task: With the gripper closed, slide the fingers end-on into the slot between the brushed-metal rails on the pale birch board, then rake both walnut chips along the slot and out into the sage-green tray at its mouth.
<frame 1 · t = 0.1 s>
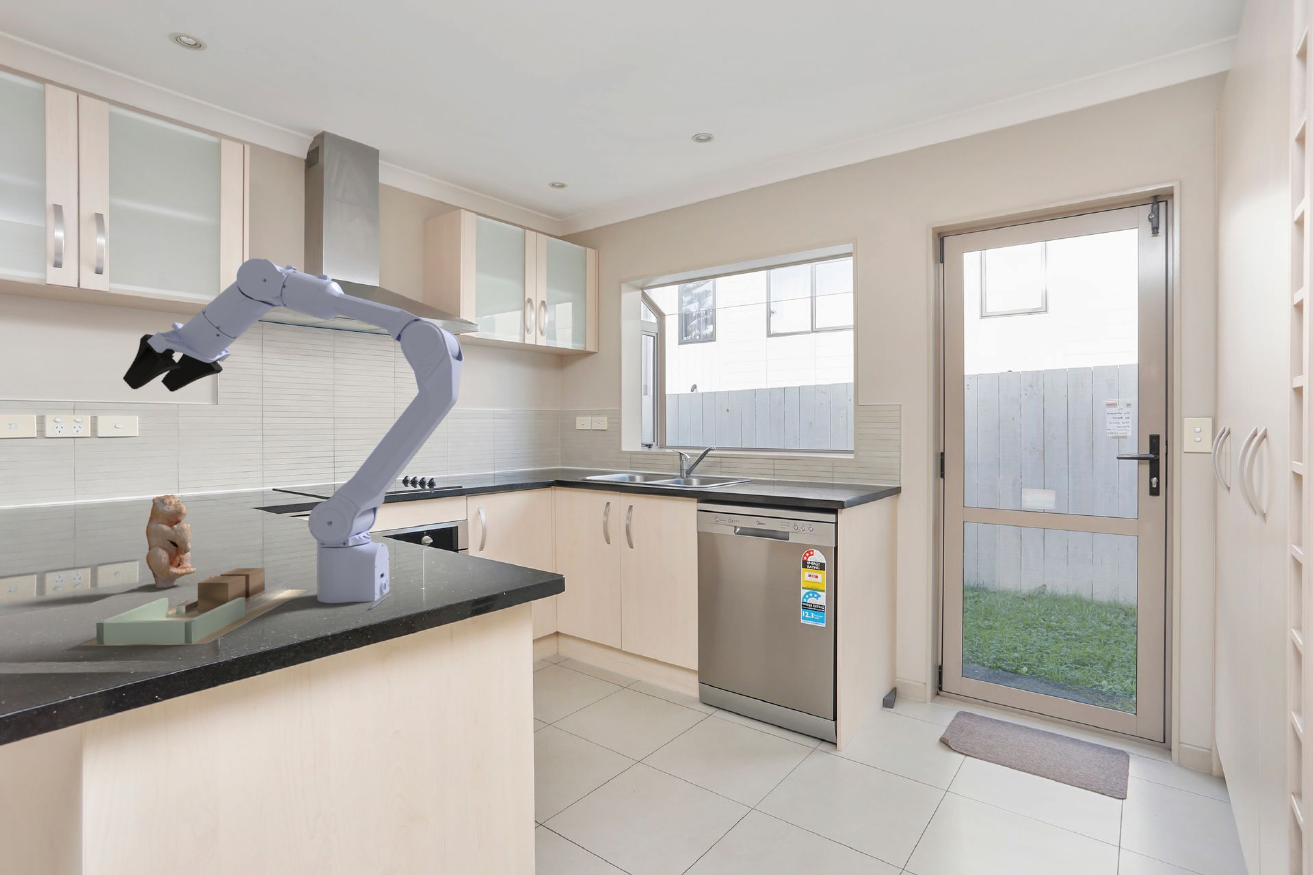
hand: (148, 385, 96), 32 cm above the table, tool tilted 50°, fingers open, 7 cm apart
slot rails: (237, 597, 94), on the slot board, point 1 cm above the table
figurine: (171, 591, 104), on the table
slot board: (211, 620, 89), on the table
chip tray: (176, 619, 82), on the slot board, point 2 cm above the table
chip b: (222, 608, 91), point 1 cm above the table, touching slot board
chip a: (243, 598, 96), point 1 cm above the table, touching slot board
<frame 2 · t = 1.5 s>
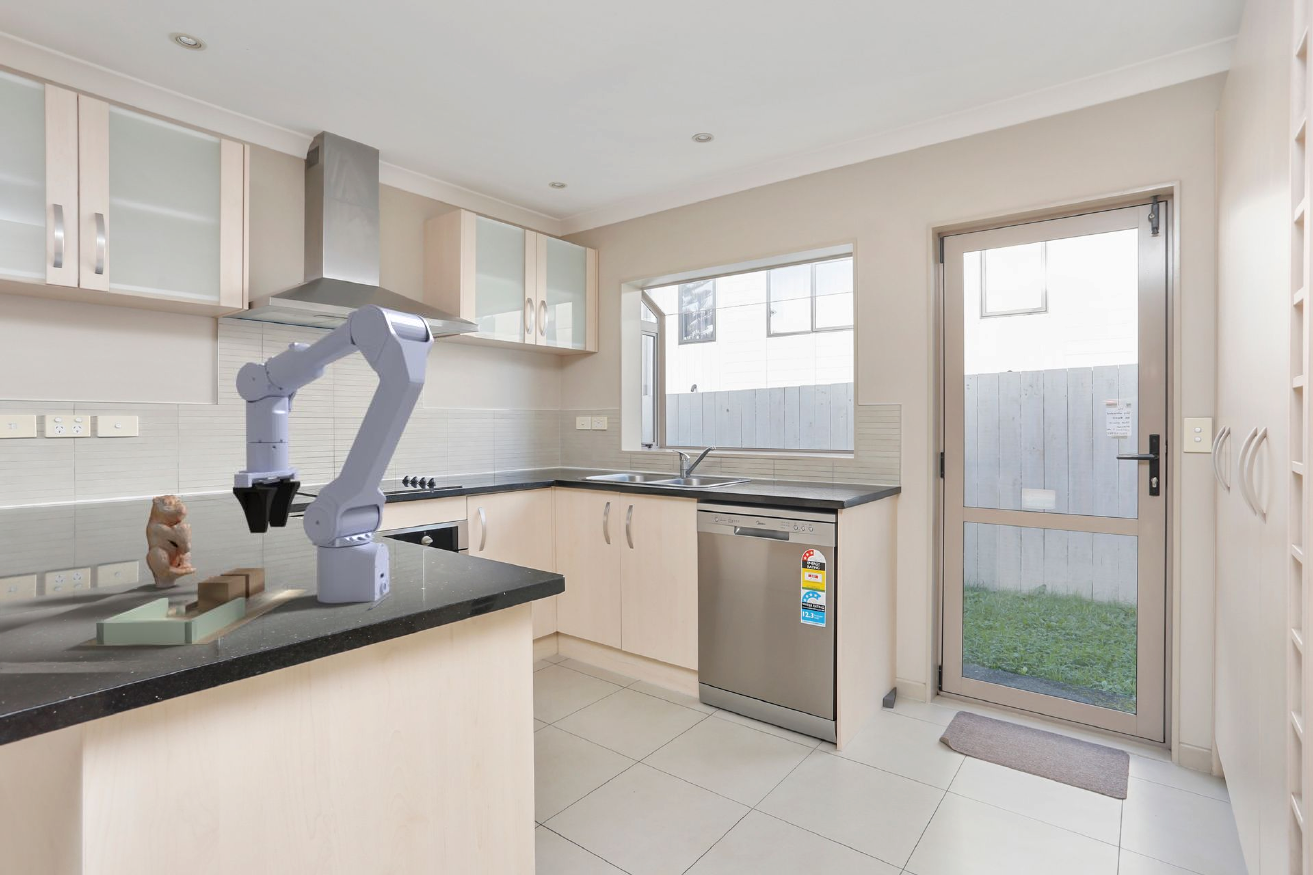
hand: (268, 529, 103), 10 cm above the table, tool pointing down, fingers open, 5 cm apart
nothing on the table moved.
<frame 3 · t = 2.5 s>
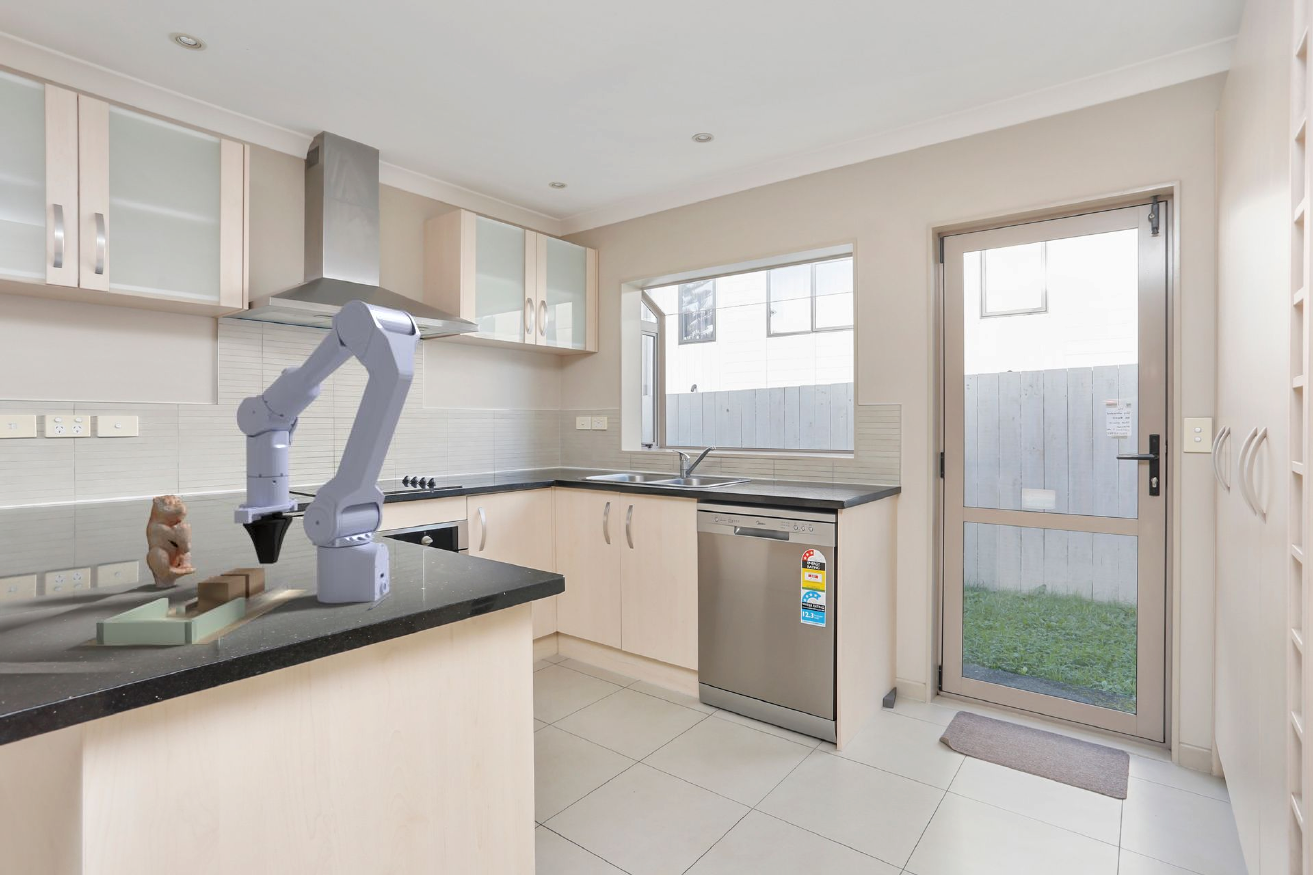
hand: (268, 562, 103), 5 cm above the table, tool pointing down, fingers closed
nothing on the table moved.
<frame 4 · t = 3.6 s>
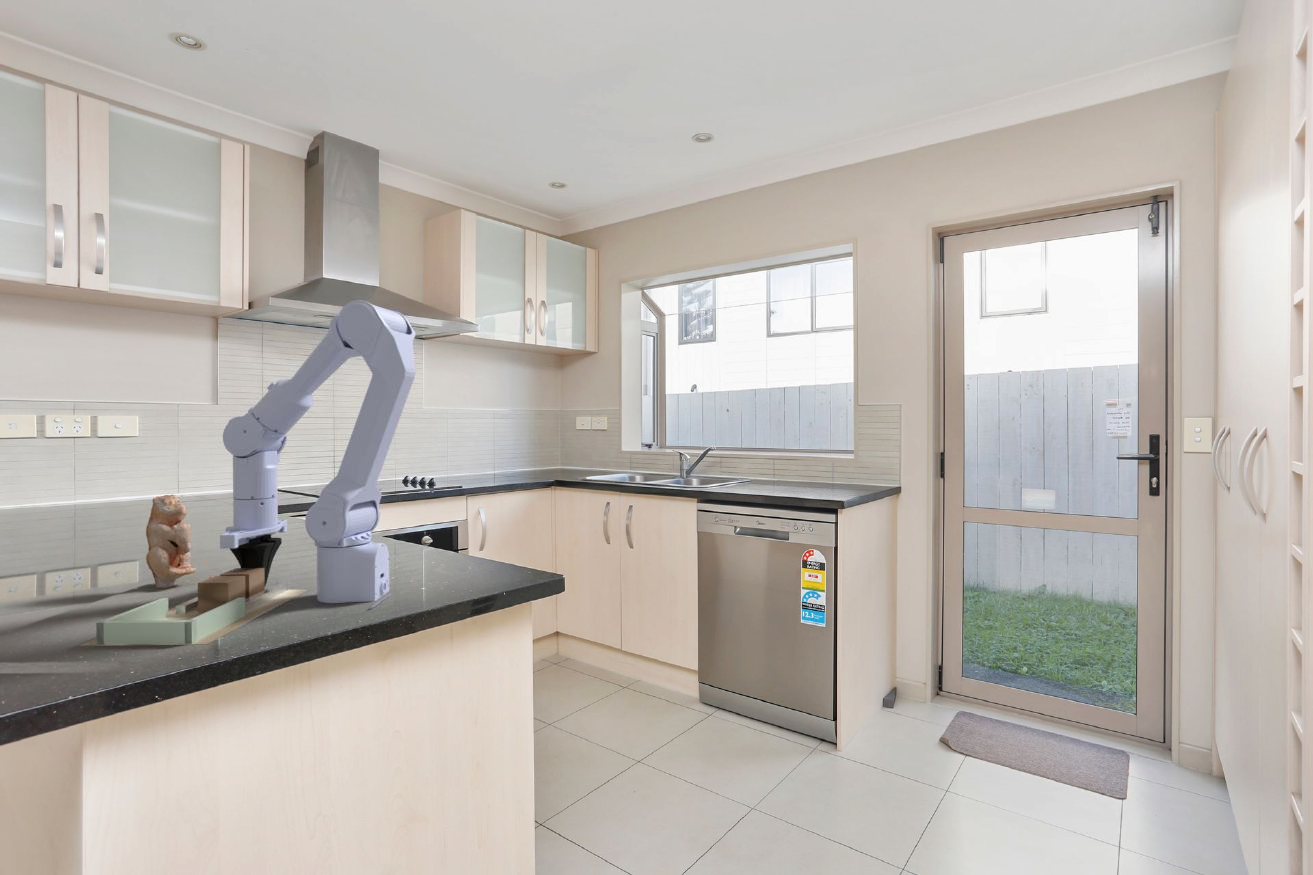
hand: (256, 587, 99), 2 cm above the table, tool pointing down, fingers closed
chip a: (243, 598, 96), point 1 cm above the table, touching gripper, slot board
everything else where it was.
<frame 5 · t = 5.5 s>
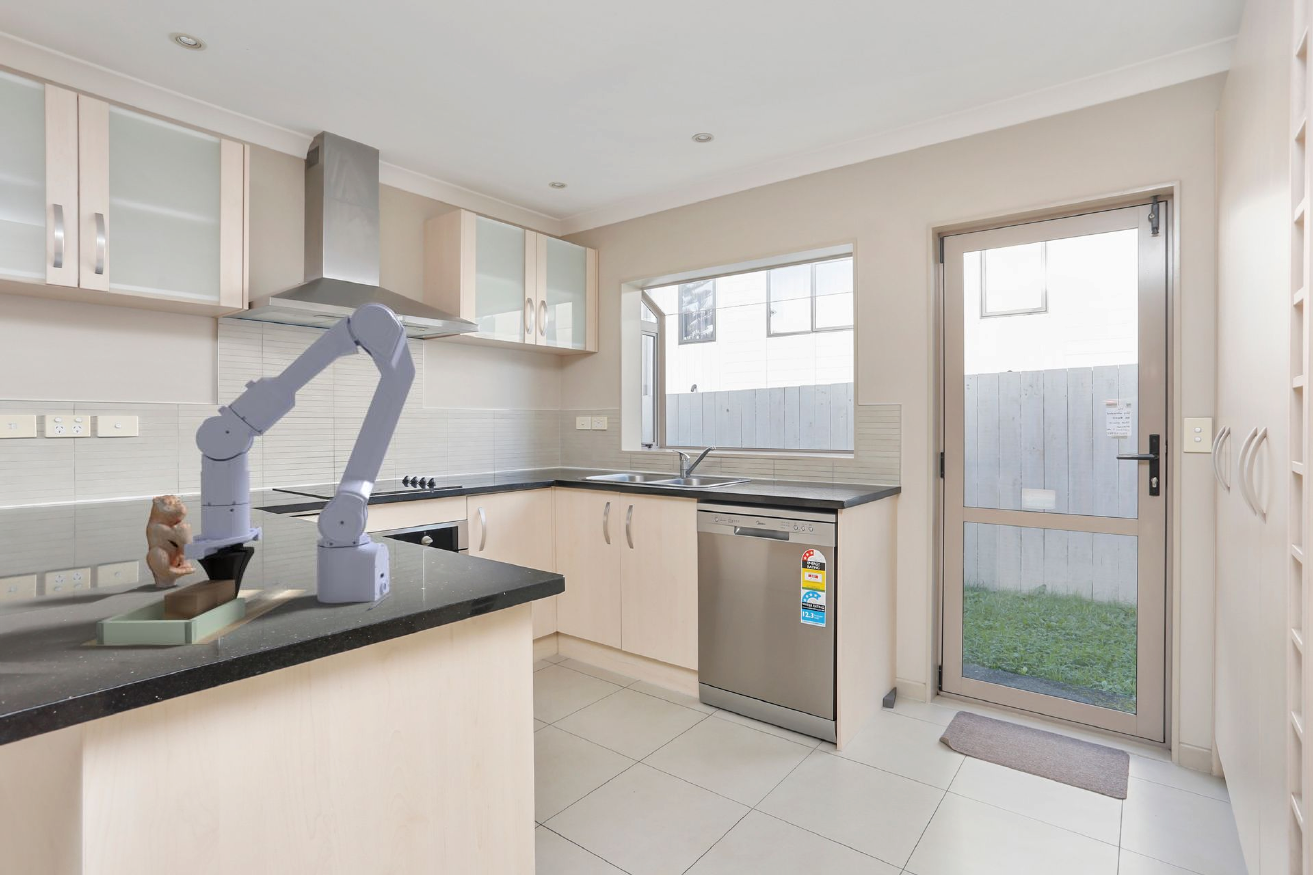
hand: (226, 600, 92), 2 cm above the table, tool pointing down, fingers closed
chip b: (191, 622, 85), point 1 cm above the table, touching chip a
chip a: (211, 613, 89), point 1 cm above the table, touching chip b, gripper
everything else where it was.
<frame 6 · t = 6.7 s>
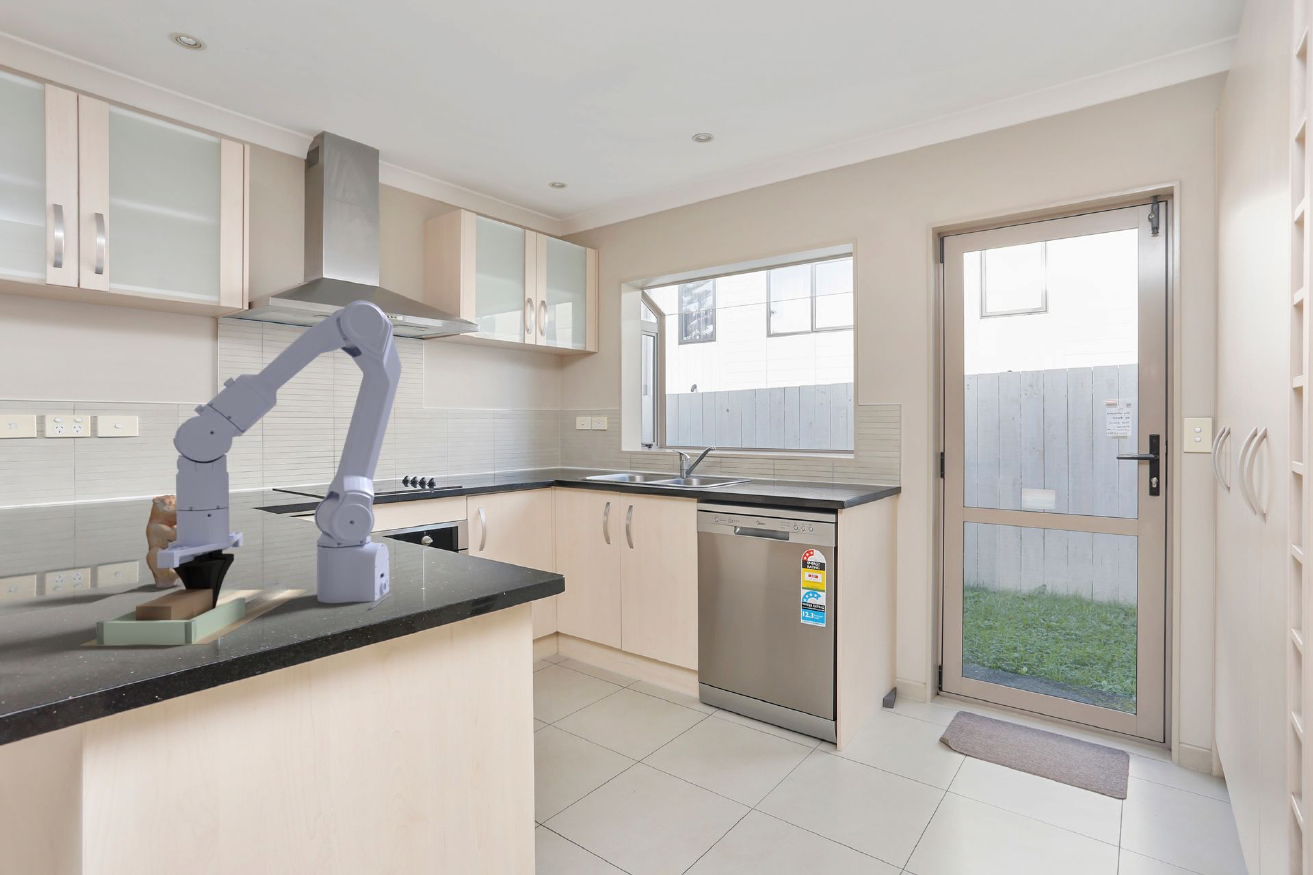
hand: (204, 611, 87), 2 cm above the table, tool pointing down, fingers closed
chip b: (165, 634, 80), point 1 cm above the table, touching chip a, slot board
chip a: (186, 624, 84), point 1 cm above the table, touching chip b, gripper, slot board
everything else where it was.
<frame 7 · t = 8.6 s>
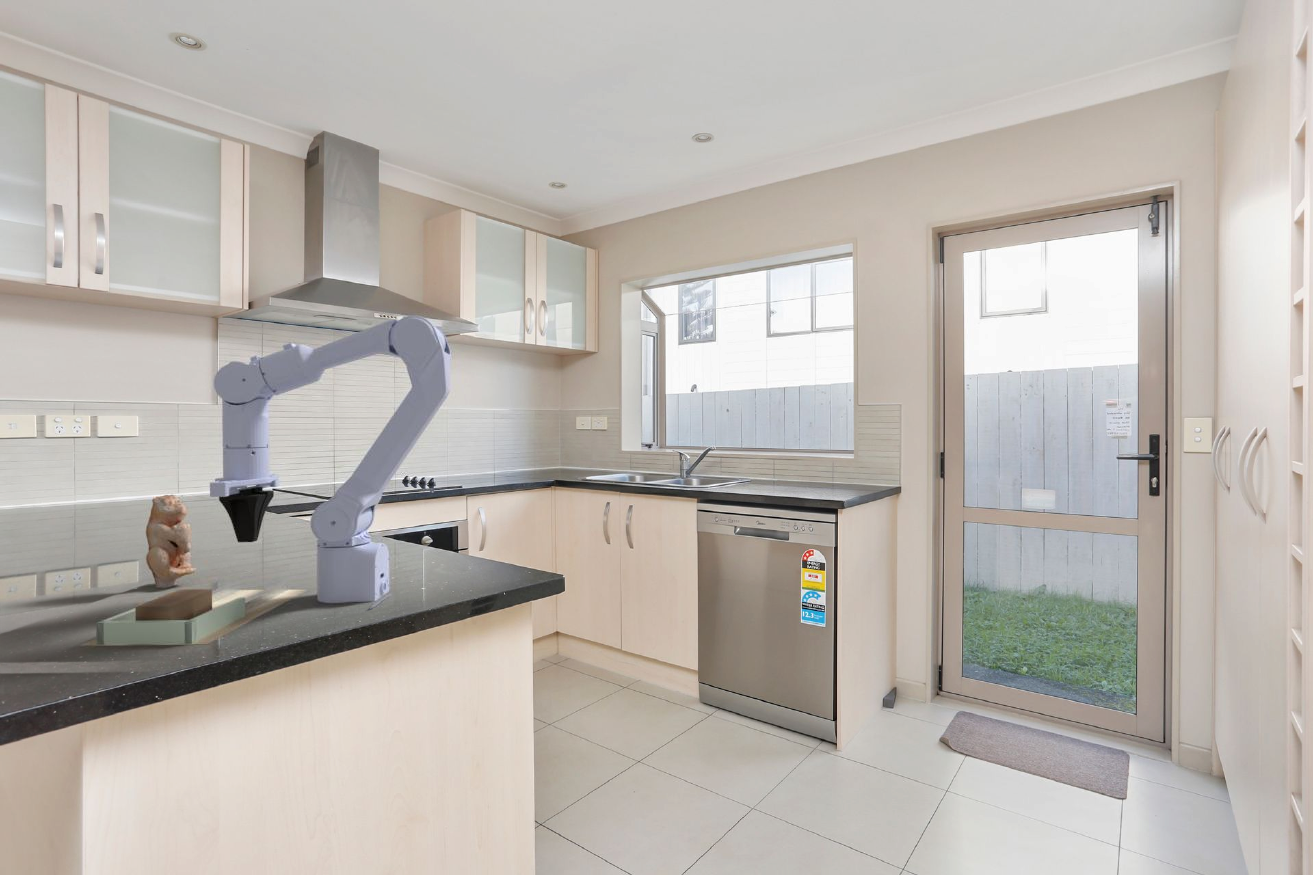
hand: (247, 541, 96), 9 cm above the table, tool pointing down, fingers closed
chip a: (186, 624, 83), point 1 cm above the table, touching chip b, slot board
everything else where it was.
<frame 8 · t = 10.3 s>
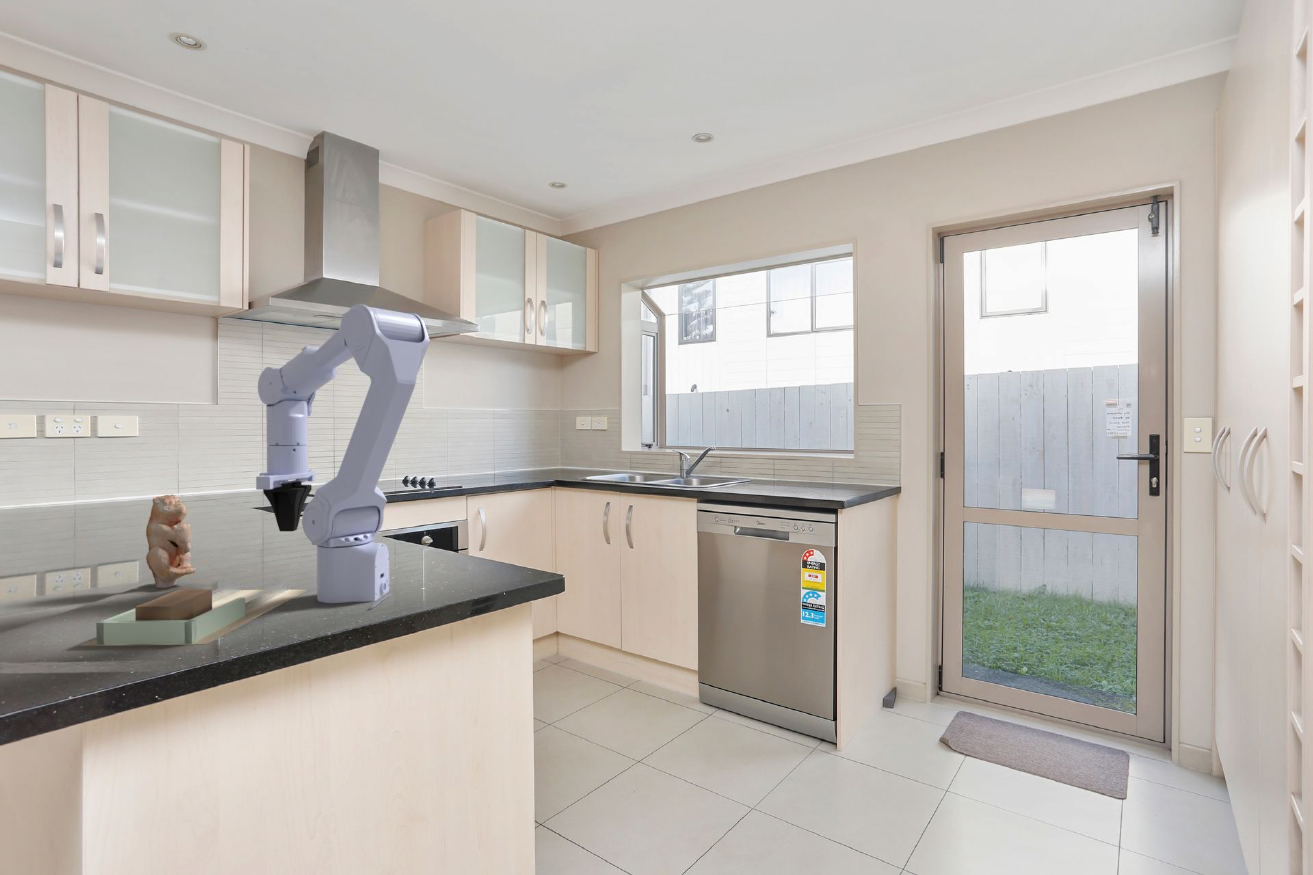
hand: (288, 530, 105), 9 cm above the table, tool pointing down, fingers closed
nothing on the table moved.
at the end: chip a inside the target area (1.8 cm from its centre), point 1.0 cm above the table; chip b inside the target area (2.3 cm from its centre), point 1.0 cm above the table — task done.
